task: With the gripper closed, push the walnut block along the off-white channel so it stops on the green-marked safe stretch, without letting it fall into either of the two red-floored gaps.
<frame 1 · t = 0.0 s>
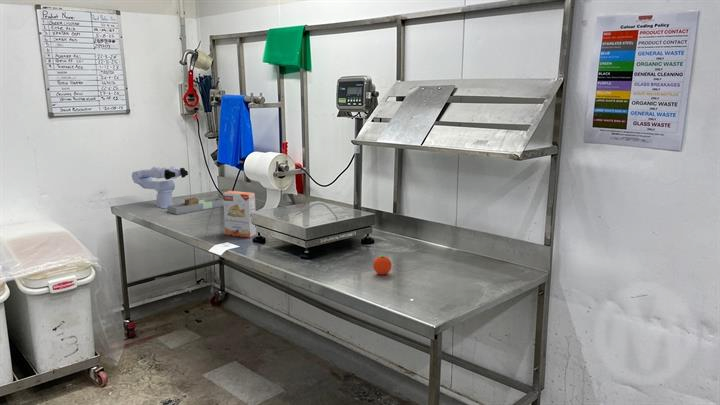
hand: (181, 173, 293), 22 cm above the table, tool horizontal, fingers open, 7 cm apart
cracker box: (240, 235, 249), on the table
walnut block: (192, 205, 301), point 2 cm above the table, touching trap channel
trap channel: (197, 208, 304), on the table
clementine: (382, 274, 197), on the table
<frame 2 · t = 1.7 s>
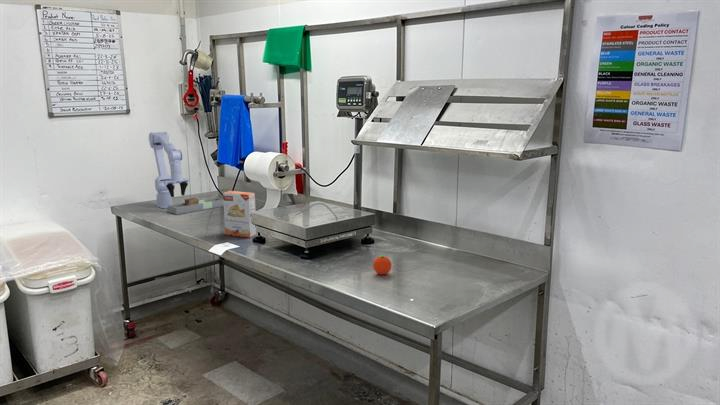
hand: (177, 196, 294), 9 cm above the table, tool pointing down, fingers open, 6 cm apart
nothing on the table moved.
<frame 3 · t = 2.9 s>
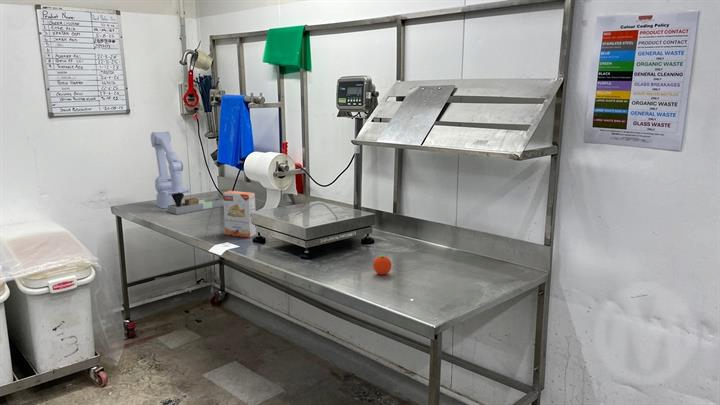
hand: (178, 206, 295), 3 cm above the table, tool pointing down, fingers closed
nothing on the table moved.
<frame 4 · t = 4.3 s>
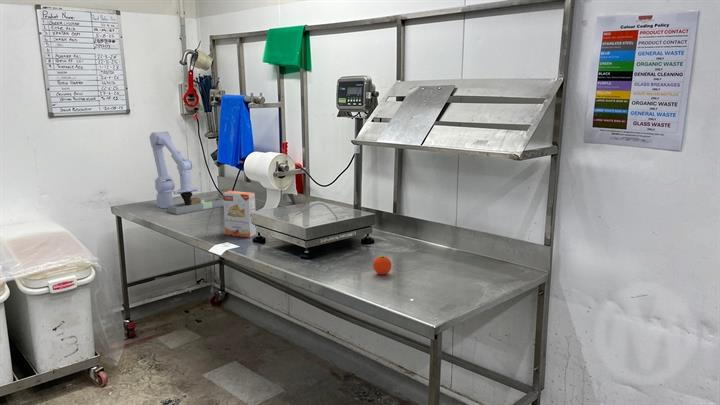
hand: (187, 205, 299), 3 cm above the table, tool pointing down, fingers closed
walnut block: (194, 205, 302), point 2 cm above the table, touching gripper
everything else where it was.
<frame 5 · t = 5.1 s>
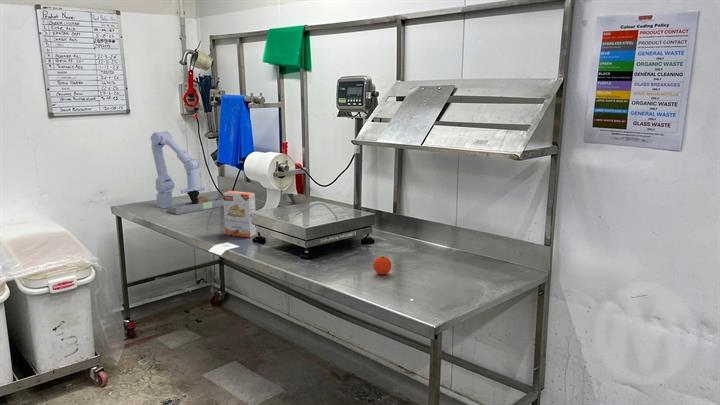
hand: (194, 203, 302), 3 cm above the table, tool pointing down, fingers closed
walnut block: (201, 204, 306), point 2 cm above the table, touching gripper, trap channel
everything else where it was.
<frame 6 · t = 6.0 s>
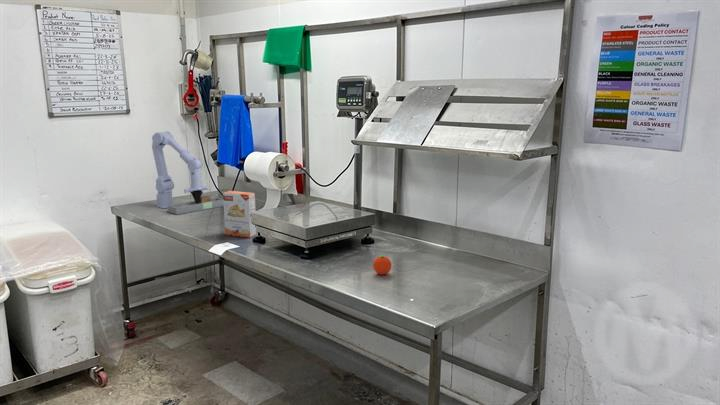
hand: (197, 203, 304), 3 cm above the table, tool pointing down, fingers closed
walnut block: (204, 203, 307), point 2 cm above the table, touching gripper, trap channel
everything else where it was.
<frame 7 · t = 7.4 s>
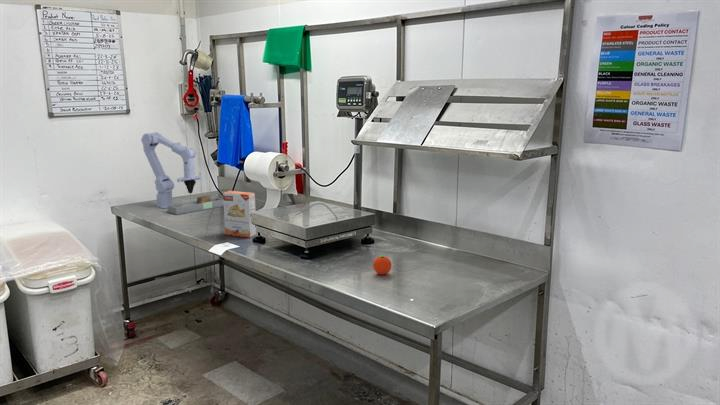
hand: (190, 192, 304), 9 cm above the table, tool pointing down, fingers closed
walnut block: (204, 203, 307), point 2 cm above the table, touching trap channel
everything else where it was.
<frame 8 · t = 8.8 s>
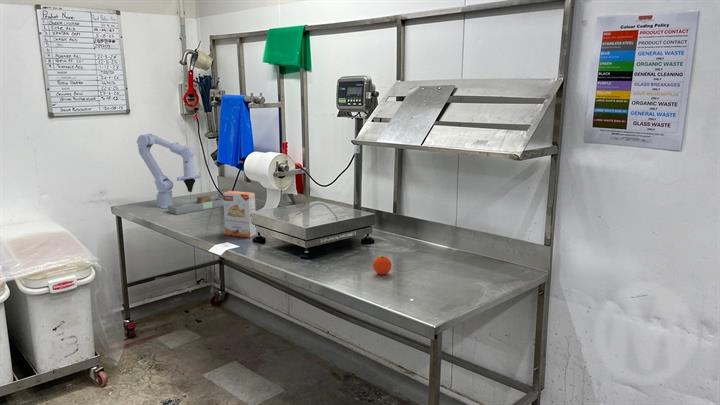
hand: (190, 191, 307), 9 cm above the table, tool pointing down, fingers closed
nothing on the table moved.
at the end: walnut block 0.6 cm from the target spot on the trap channel, point 2.4 cm above the trap channel's base; walnut block tilted 0°; walnut block moved 8.0 cm from its start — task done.
